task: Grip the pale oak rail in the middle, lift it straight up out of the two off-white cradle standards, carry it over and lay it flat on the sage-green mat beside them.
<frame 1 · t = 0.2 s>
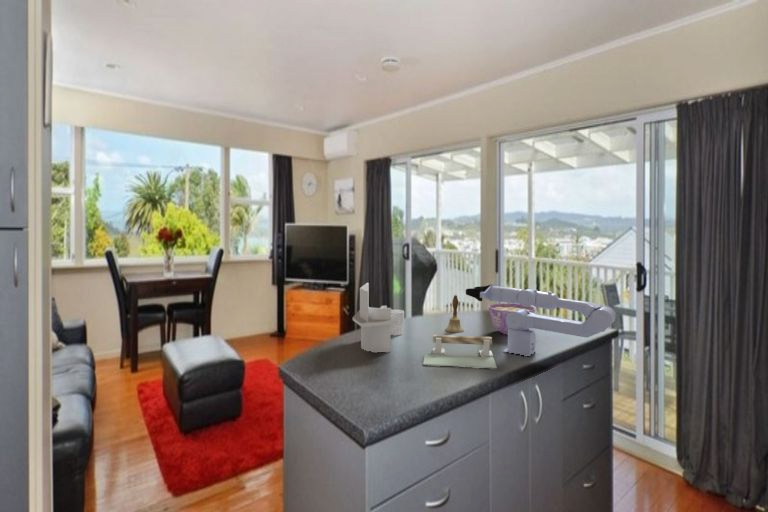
hand: (470, 290, 165), 21 cm above the counter, tool horizontal, fingers open, 7 cm apart
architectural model: (372, 346, 163), on the counter
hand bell: (454, 330, 189), on the counter
oak rail: (462, 343, 152), point 4 cm above the counter, touching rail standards
bowl of food: (511, 333, 183), on the counter
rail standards: (462, 353, 153), on the counter
green mat: (459, 362, 143), on the counter
white cup: (395, 334, 182), on the counter
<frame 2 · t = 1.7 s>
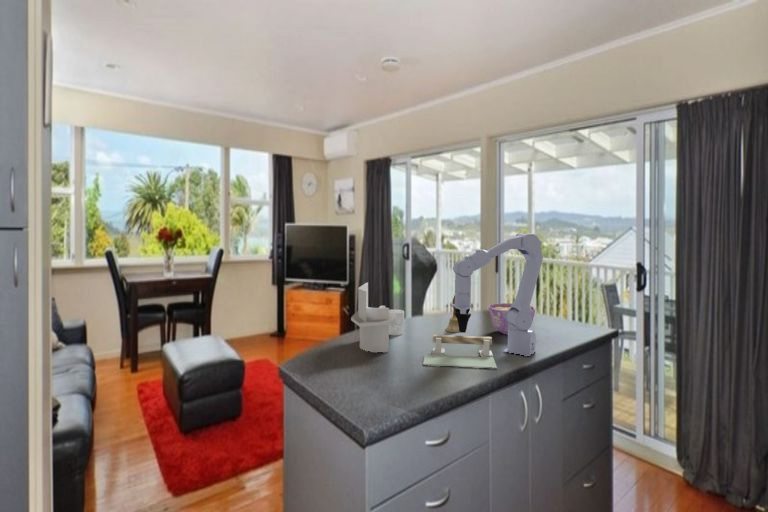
hand: (462, 329, 152), 9 cm above the counter, tool pointing down, fingers open, 7 cm apart
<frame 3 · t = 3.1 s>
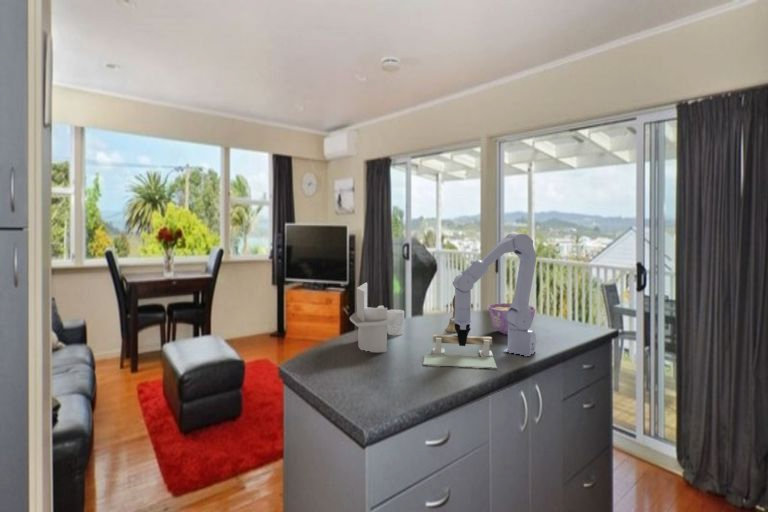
hand: (462, 344, 152), 3 cm above the counter, tool pointing down, fingers closed on oak rail, 2 cm apart
oak rail: (462, 343, 152), point 4 cm above the counter, touching gripper, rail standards
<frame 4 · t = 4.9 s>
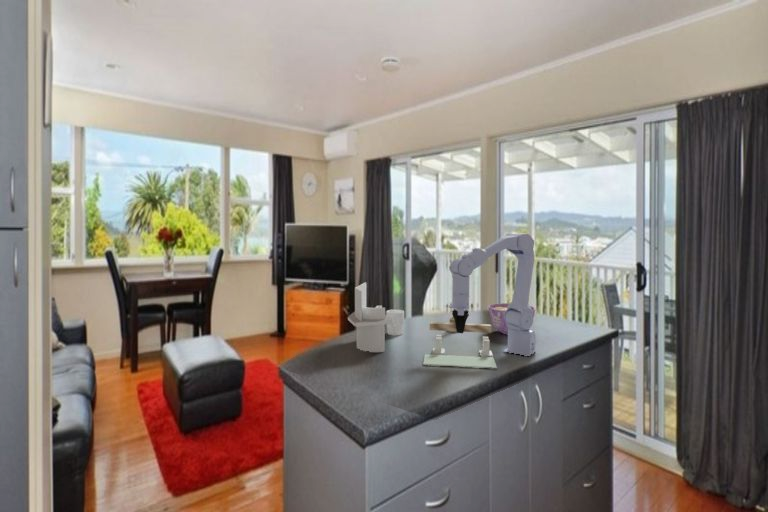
hand: (460, 331, 145), 10 cm above the counter, tool pointing down, fingers closed on oak rail, 2 cm apart
oak rail: (460, 330, 145), point 10 cm above the counter, touching gripper
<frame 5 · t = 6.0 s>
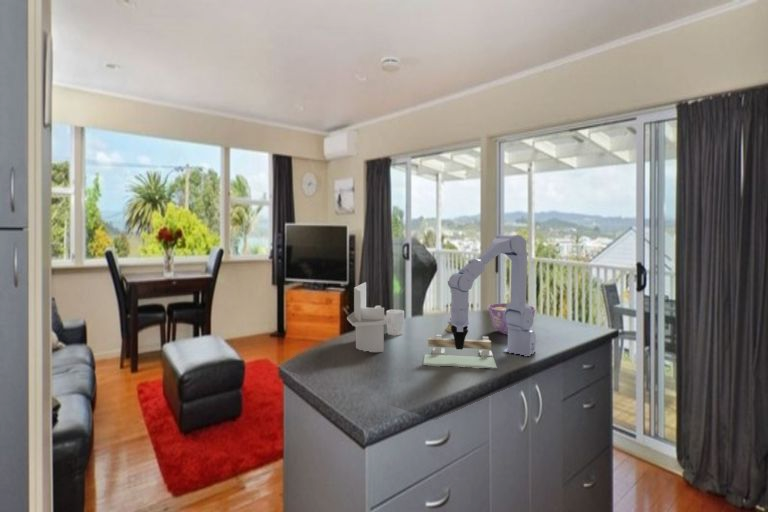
hand: (459, 347, 142), 5 cm above the counter, tool pointing down, fingers closed on oak rail, 2 cm apart
oak rail: (459, 346, 142), point 5 cm above the counter, touching gripper
when the fingers open (2 cm above the counter, at t = 6.9 s): oak rail drops 1 cm, resting on green mat.
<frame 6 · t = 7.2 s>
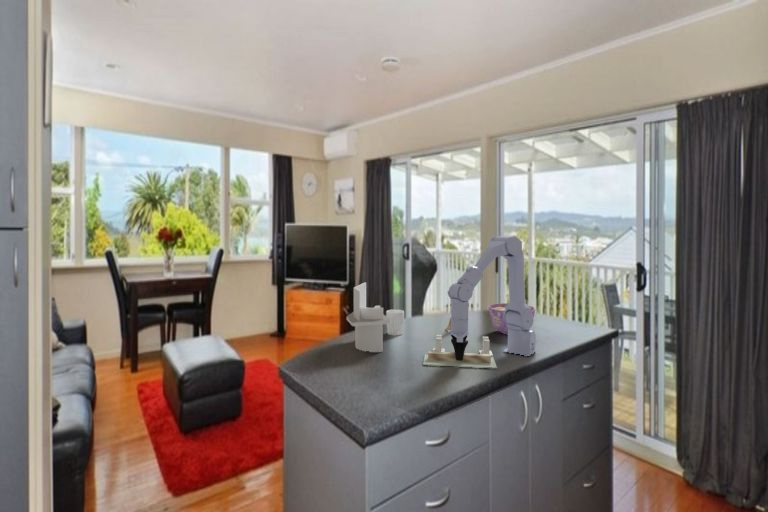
hand: (459, 357, 143), 2 cm above the counter, tool pointing down, fingers open, 5 cm apart
oak rail: (459, 360, 143), point 1 cm above the counter, touching green mat
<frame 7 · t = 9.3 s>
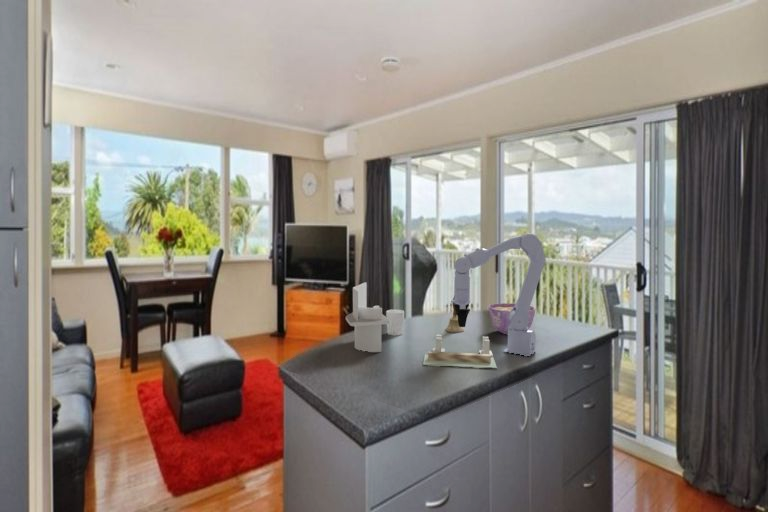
hand: (461, 324, 158), 9 cm above the counter, tool pointing down, fingers open, 7 cm apart
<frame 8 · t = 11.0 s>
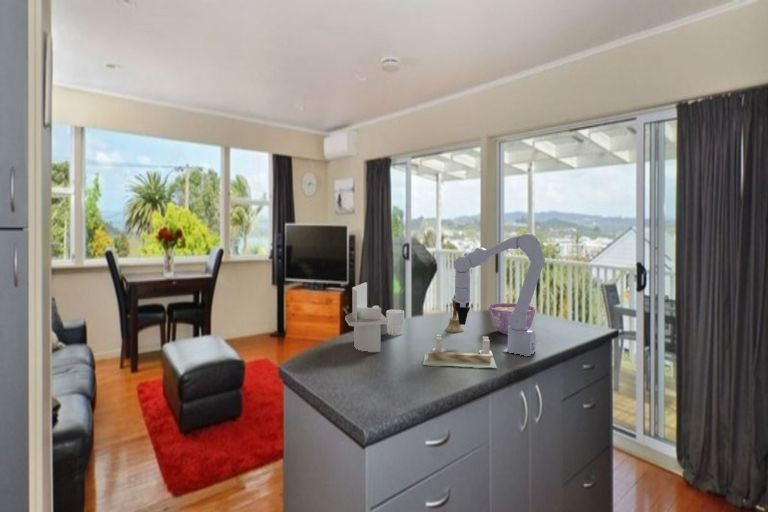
hand: (462, 322, 162), 9 cm above the counter, tool pointing down, fingers open, 7 cm apart
at the end: oak rail inside the target area on the green mat (0.0 cm from its centre), point 0.6 cm above the green mat's base; oak rail touching green mat; the gripper is holding nothing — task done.
